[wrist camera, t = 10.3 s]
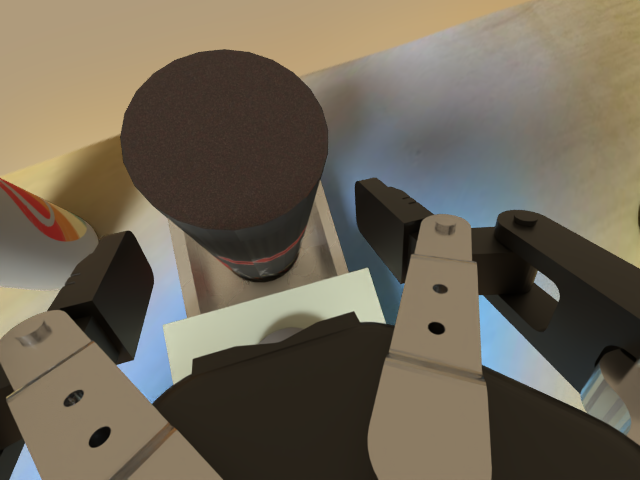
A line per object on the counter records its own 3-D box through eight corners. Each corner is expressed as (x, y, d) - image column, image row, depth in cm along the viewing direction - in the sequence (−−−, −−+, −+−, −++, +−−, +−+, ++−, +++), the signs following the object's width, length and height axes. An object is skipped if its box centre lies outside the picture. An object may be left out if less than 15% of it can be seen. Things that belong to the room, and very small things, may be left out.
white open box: (304, 165, 26) (308, 141, 23) (339, 280, 25) (349, 274, 21) (176, 192, 25) (158, 171, 21) (202, 319, 23) (187, 320, 19)
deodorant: (304, 278, 23) (340, 222, 9) (223, 286, 23) (117, 239, 8) (296, 204, 25) (317, 49, 10) (219, 209, 24) (123, 49, 9)
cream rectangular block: (347, 278, 25) (372, 265, 18) (382, 395, 23) (425, 429, 16) (192, 322, 22) (155, 325, 16) (219, 455, 21) (190, 523, 14)
